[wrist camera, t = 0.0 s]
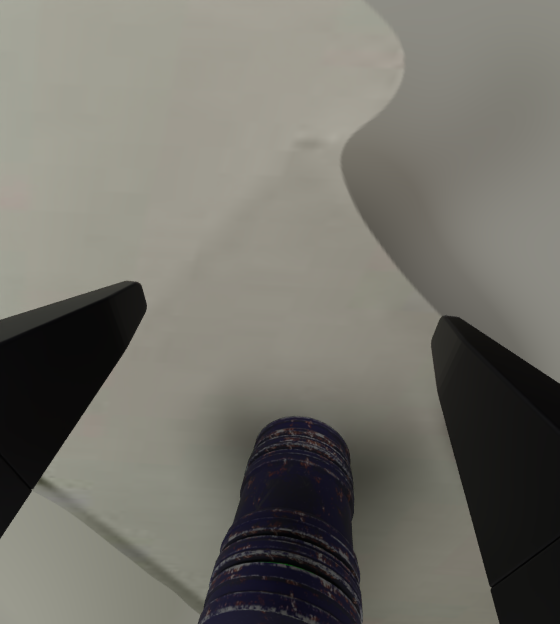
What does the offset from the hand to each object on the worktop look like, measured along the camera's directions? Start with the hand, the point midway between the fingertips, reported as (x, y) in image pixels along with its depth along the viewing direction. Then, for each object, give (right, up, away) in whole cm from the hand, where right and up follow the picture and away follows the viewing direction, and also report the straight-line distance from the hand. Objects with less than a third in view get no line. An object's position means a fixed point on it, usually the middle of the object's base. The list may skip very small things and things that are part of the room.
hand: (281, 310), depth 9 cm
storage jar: (+2, -15, +22) cm, 26 cm away
